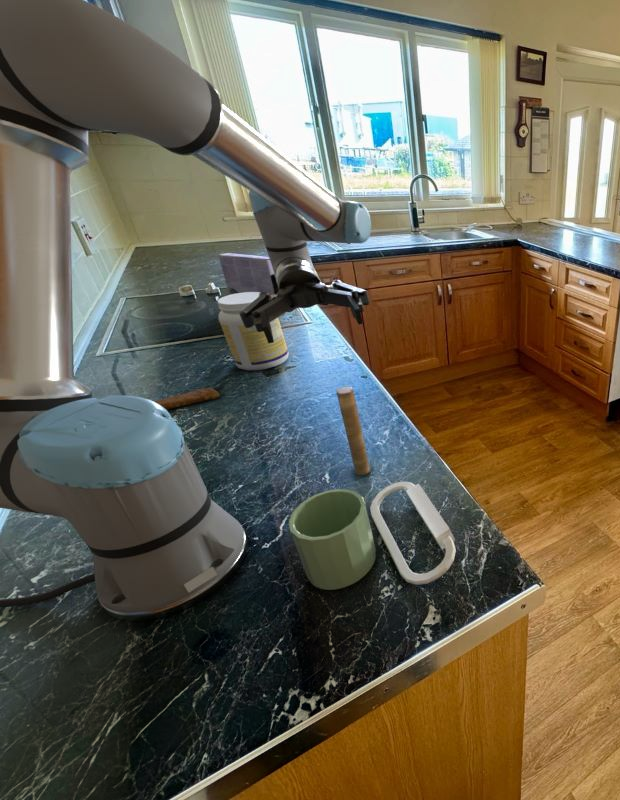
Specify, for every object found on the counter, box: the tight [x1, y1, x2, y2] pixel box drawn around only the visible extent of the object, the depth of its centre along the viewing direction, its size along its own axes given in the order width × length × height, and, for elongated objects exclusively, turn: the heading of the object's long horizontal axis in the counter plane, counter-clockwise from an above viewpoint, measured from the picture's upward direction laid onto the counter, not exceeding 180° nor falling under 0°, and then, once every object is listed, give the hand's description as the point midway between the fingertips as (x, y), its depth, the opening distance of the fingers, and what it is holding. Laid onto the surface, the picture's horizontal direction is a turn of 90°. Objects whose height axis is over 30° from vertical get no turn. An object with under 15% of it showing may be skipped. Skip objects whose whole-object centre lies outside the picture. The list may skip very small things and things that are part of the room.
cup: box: [288, 488, 377, 591], centre depth 55 cm, size 9×9×9 cm
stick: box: [335, 386, 371, 476], centre depth 70 cm, size 2×2×16 cm
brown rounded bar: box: [152, 387, 221, 411], centre depth 88 cm, size 19×6×4 cm, turn 143°
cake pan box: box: [218, 252, 279, 295], centre depth 143 cm, size 19×5×18 cm, turn 79°
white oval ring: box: [369, 481, 457, 586], centre depth 61 cm, size 20×8×4 cm, turn 35°
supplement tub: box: [217, 292, 289, 371], centre depth 106 cm, size 12×12×17 cm
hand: (315, 325), depth 68 cm, fingers open, 13 cm apart
